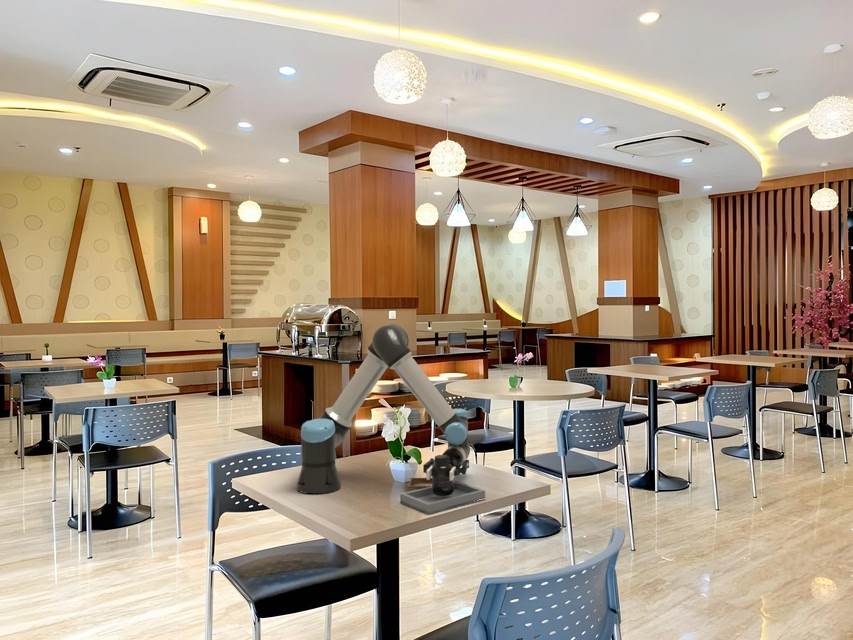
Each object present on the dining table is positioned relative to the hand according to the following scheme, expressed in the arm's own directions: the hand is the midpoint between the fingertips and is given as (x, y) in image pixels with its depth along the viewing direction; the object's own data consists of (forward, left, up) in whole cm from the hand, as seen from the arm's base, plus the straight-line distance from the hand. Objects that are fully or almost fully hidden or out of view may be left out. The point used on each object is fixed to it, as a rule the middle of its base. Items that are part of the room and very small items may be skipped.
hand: (439, 475), depth 195 cm
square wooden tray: (-21, -6, -10) cm, 24 cm away
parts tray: (-5, +1, -10) cm, 11 cm away
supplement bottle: (-5, +1, -7) cm, 9 cm away
